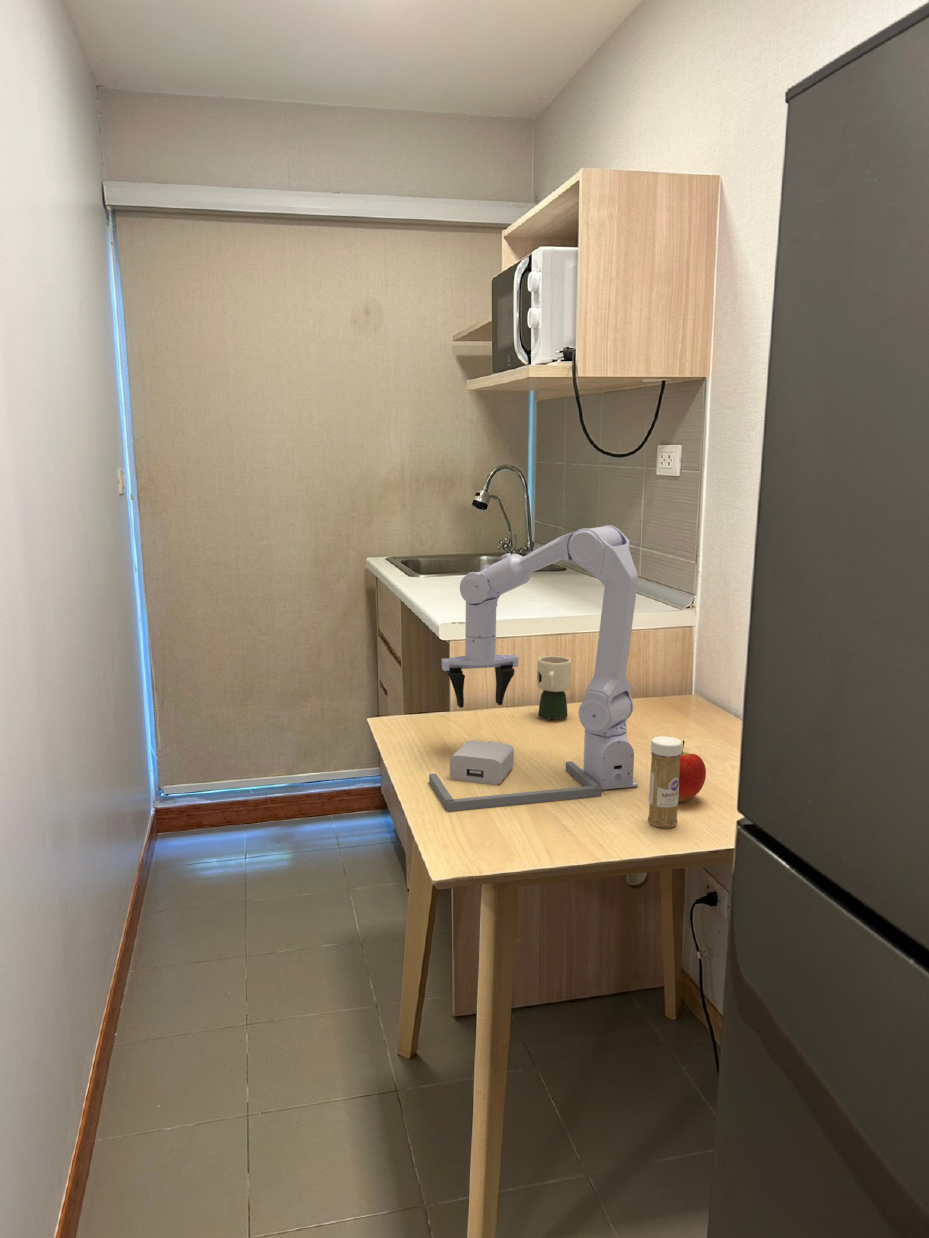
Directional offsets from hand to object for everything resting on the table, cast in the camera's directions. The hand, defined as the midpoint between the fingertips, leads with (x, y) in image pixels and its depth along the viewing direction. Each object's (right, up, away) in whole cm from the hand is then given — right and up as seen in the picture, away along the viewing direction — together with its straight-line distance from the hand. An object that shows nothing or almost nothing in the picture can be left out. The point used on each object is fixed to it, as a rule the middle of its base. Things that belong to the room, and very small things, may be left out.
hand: (479, 704), depth 170 cm
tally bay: (+5, -12, -17) cm, 22 cm away
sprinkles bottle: (+28, -15, -32) cm, 45 cm away
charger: (+1, -11, -8) cm, 14 cm away
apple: (+32, -14, -22) cm, 42 cm away
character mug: (+16, -5, +22) cm, 28 cm away
